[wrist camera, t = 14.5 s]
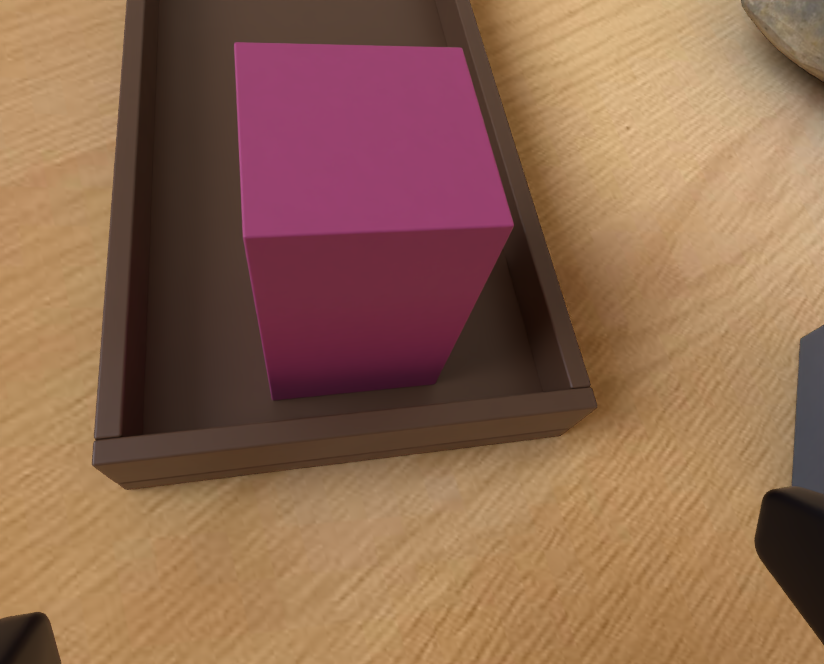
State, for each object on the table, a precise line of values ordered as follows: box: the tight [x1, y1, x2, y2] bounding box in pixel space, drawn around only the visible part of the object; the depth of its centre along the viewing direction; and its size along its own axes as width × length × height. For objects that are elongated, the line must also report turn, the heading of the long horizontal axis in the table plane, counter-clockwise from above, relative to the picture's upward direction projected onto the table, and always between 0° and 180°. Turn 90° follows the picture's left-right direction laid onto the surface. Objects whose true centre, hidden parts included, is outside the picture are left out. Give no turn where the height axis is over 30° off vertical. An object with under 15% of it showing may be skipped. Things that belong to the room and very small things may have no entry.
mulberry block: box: [234, 42, 514, 400], centre depth 14 cm, size 5×5×8 cm
